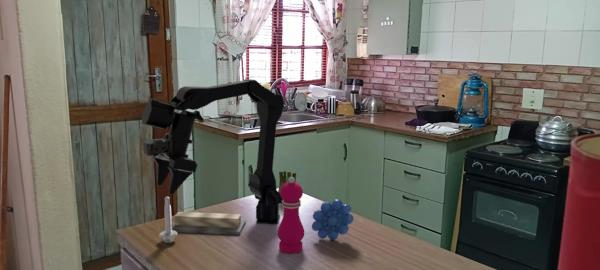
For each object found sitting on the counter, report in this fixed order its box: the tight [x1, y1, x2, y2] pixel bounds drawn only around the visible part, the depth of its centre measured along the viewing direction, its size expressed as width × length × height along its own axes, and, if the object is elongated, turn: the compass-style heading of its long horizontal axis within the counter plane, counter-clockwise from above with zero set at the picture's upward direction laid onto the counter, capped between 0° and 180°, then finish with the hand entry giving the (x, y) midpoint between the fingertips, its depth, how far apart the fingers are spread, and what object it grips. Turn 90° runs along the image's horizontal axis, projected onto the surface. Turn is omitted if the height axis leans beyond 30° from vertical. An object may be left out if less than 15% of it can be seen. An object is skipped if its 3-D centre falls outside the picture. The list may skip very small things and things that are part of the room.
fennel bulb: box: [277, 170, 297, 205], centre depth 157 cm, size 6×5×12 cm
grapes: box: [311, 198, 354, 241], centre depth 130 cm, size 12×7×12 cm, turn 85°
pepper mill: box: [276, 176, 305, 254], centre depth 122 cm, size 7×7×20 cm
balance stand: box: [171, 211, 247, 236], centre depth 137 cm, size 21×9×4 cm, turn 85°
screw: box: [158, 196, 179, 244], centre depth 126 cm, size 13×5×5 cm
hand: (164, 189), depth 123 cm, fingers open, 9 cm apart
